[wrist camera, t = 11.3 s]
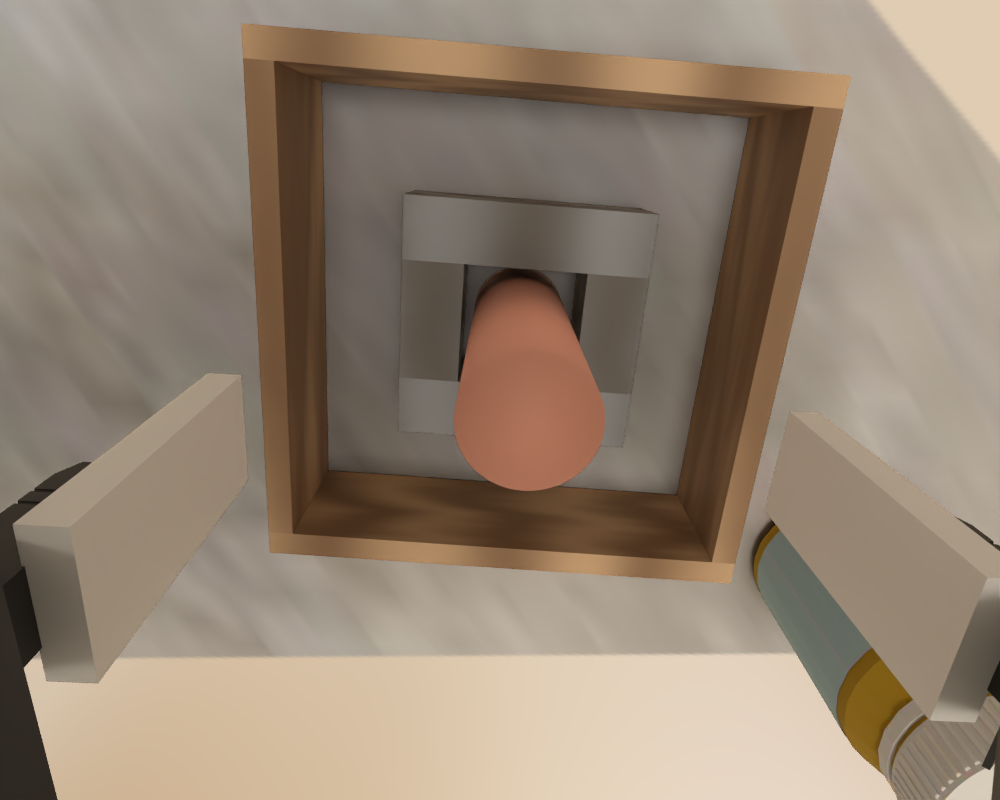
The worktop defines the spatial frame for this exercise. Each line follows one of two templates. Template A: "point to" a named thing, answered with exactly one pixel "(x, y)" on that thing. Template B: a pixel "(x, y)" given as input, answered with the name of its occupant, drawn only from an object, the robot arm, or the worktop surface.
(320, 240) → the crate
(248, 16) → the worktop surface
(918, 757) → the bottle
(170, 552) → the robot arm
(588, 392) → the peg
